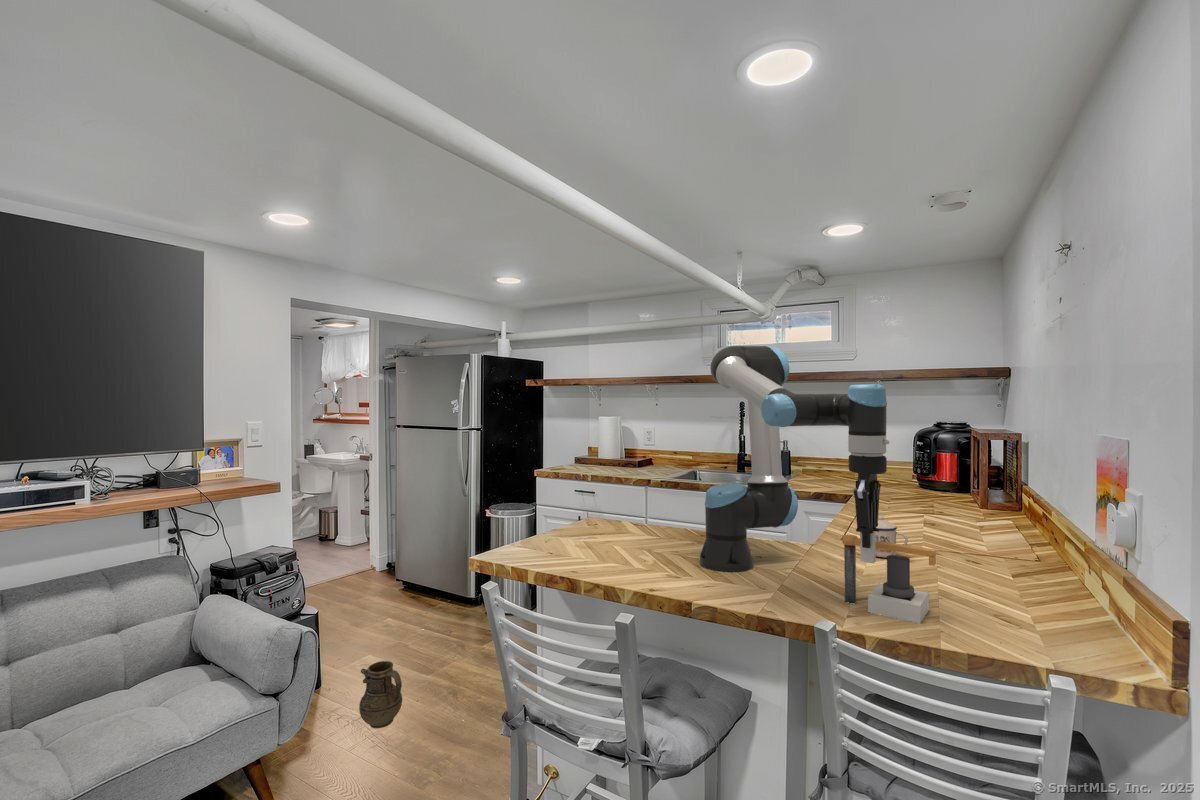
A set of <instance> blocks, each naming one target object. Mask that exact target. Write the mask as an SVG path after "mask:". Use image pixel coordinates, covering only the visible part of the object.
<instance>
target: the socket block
mask: <svg viewBox="0 0 1200 800" xmlns="http://www.w3.org/2000/svg"><path fill="white" fill-rule="evenodd" d="M929 595H930V594H929V592H926V591H921V590H916V589H914V597H911V598H910V601H909V600H904V599H899V598H894V597H889V596H887V594H885V593H884V592H883V583H878V584H877V585H876V586H875V587H874V588H873V589H872V590H871V592H869V594H868V595H867V613H868V612H871V613H870V614H872V613H876V614H875V615H877V614H881V615H885V616H884V617H886V616H889V617H888V618H891V617H894V618H893V619H896V618H897V620H901V619H902V620H901V621H905V620H906V621H905V622H910V621H912V622H911V623H915V622H916V623H915V624H922V622H921V621H923V620H924V619H925V617H926V616H925V615H927V614H928V612H929V610H930V608H929V606H930V604H929V602H930V600H929V599H930V598H929ZM881 615H880V616H881Z"/></svg>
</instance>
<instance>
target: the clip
mask: <svg viewBox="0 0 1200 800" xmlns="http://www.w3.org/2000/svg"><path fill="white" fill-rule="evenodd" d="M841 543H842V544H843V545H844V544H845V545H856V546H857V547H858V546H859V547H860V538H859V537H858V536H857V535H853V534H843V535H842V542H841ZM875 548H877V549H884V550H890V551H896V553H897V552H898V553H904V554H912V555H917V556H924V557H928V566H933V567H935V566H936V564H937V555H936V554H937V549H935V548H927V547H920V546H914V545H908V544H907V545H903V544H901V543H900V544H899V543H896V544H894V543H887V542H881V541H875Z"/></svg>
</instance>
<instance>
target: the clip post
mask: <svg viewBox="0 0 1200 800" xmlns="http://www.w3.org/2000/svg"><path fill="white" fill-rule="evenodd" d="M843 545H844V546H843V548H844V549H843V550H844V552H843V553H844V554H843V555H844V562H843V563H844V564H843V565H844V603H846V602H849V603H848V604H850V603H855V602H856V603H857V567H856V566H857V561H856V560H857V557H856V555H857V553H856V551H857V545H845V544H843ZM856 603H855V604H856Z"/></svg>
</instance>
